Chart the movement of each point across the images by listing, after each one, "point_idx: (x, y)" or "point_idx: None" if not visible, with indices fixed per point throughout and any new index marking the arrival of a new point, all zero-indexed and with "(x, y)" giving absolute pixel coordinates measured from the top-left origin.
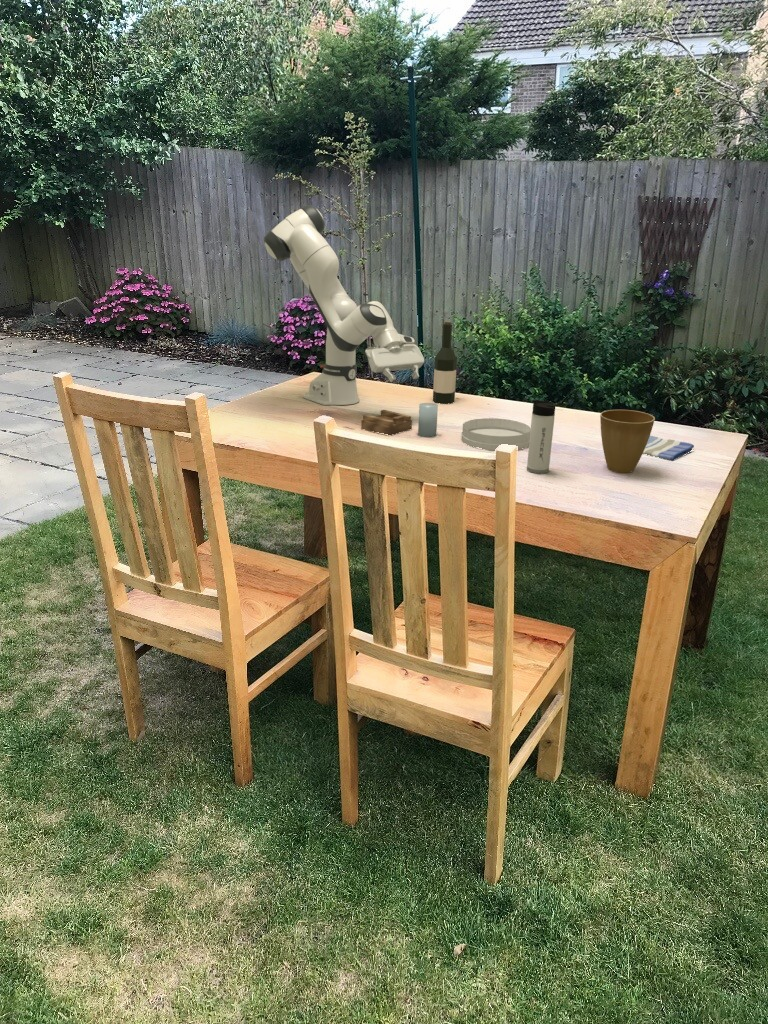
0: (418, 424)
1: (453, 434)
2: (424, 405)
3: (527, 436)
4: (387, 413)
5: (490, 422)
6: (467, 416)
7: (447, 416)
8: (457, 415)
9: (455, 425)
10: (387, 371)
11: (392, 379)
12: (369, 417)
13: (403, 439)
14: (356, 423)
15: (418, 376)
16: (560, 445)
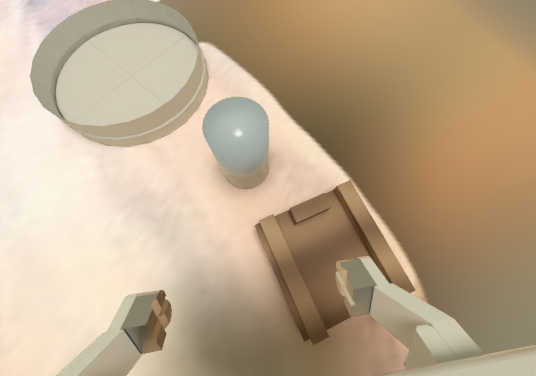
0: (266, 165)
1: (184, 150)
2: (252, 124)
3: (97, 15)
4: (312, 300)
5: (73, 125)
6: (15, 302)
7: (69, 328)
8: (31, 328)
9: (124, 220)
10: (435, 310)
11: (367, 257)
12: (396, 259)
13: (317, 154)
14: (392, 356)
15: (135, 294)
16: (48, 26)
